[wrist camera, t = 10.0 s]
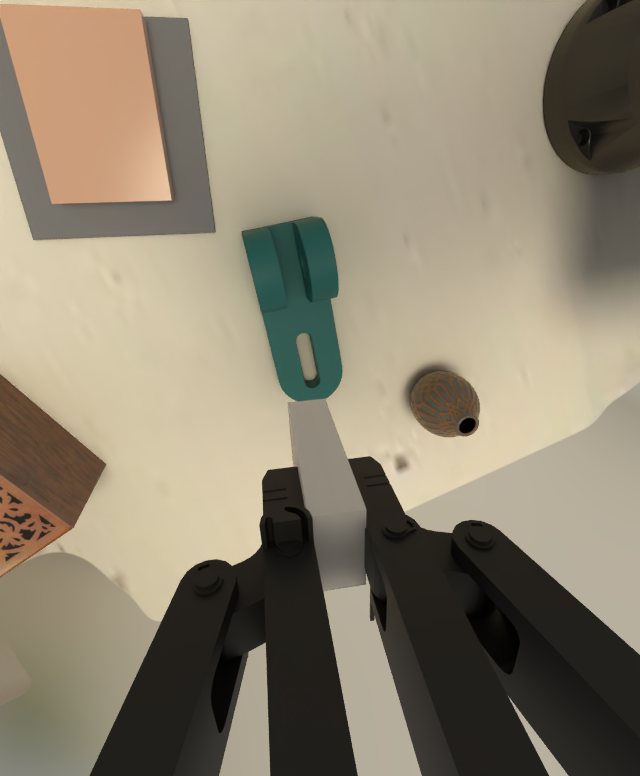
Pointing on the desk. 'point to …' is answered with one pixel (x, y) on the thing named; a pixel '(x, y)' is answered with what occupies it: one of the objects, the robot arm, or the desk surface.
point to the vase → (445, 404)
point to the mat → (183, 142)
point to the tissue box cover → (38, 478)
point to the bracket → (297, 300)
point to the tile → (90, 102)
